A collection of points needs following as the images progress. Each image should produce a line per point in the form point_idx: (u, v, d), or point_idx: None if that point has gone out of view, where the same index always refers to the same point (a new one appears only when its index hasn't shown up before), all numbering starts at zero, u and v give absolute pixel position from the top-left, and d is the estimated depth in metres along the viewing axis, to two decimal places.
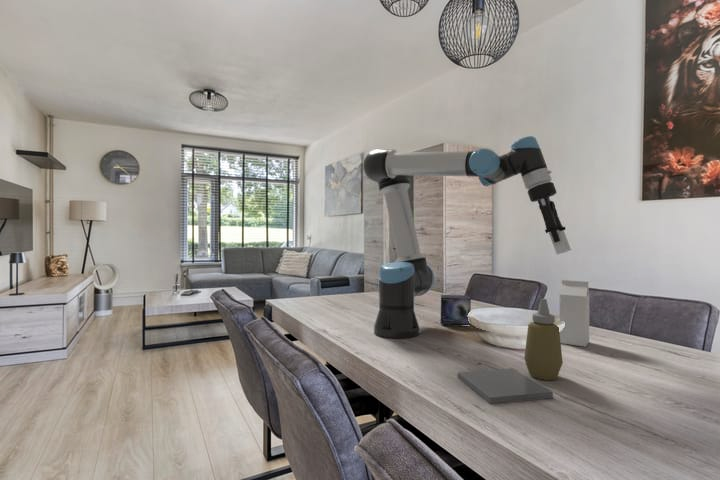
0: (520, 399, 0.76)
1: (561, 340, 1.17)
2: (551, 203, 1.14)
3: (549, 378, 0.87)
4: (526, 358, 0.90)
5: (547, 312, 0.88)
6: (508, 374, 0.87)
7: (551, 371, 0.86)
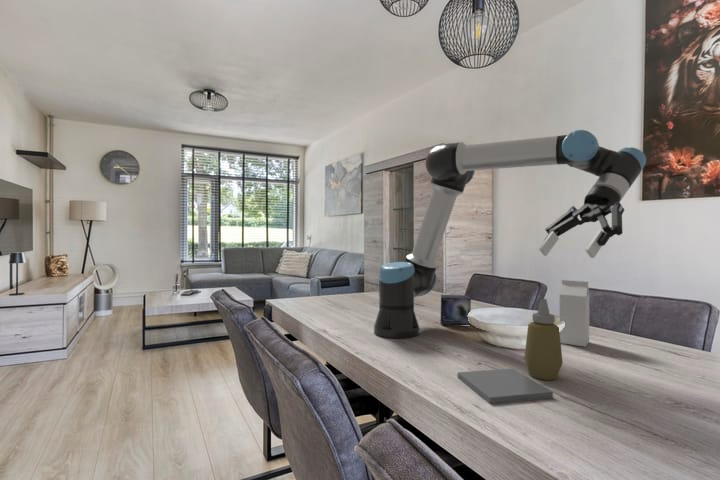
0: (520, 399, 0.76)
1: (561, 340, 1.17)
2: None
3: (549, 378, 0.87)
4: (526, 358, 0.90)
5: (547, 312, 0.88)
6: (508, 374, 0.87)
7: (551, 371, 0.86)
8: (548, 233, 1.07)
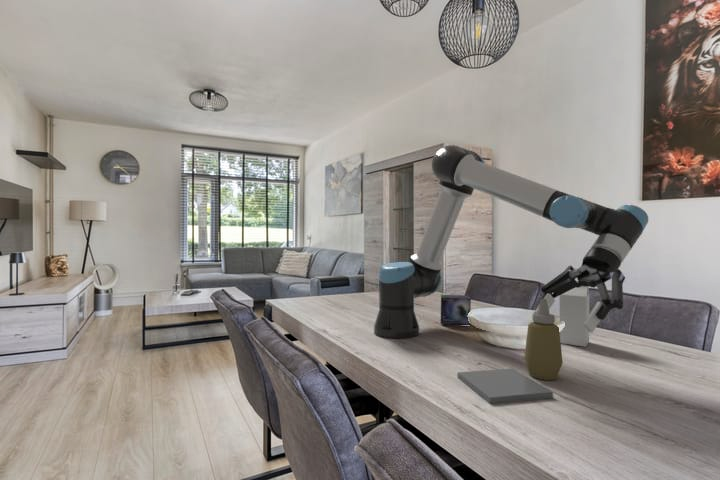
0: (520, 399, 0.76)
1: (561, 340, 1.17)
2: None
3: (549, 378, 0.87)
4: (526, 358, 0.90)
5: (547, 312, 0.88)
6: (508, 374, 0.87)
7: (551, 371, 0.86)
8: (544, 293, 1.01)
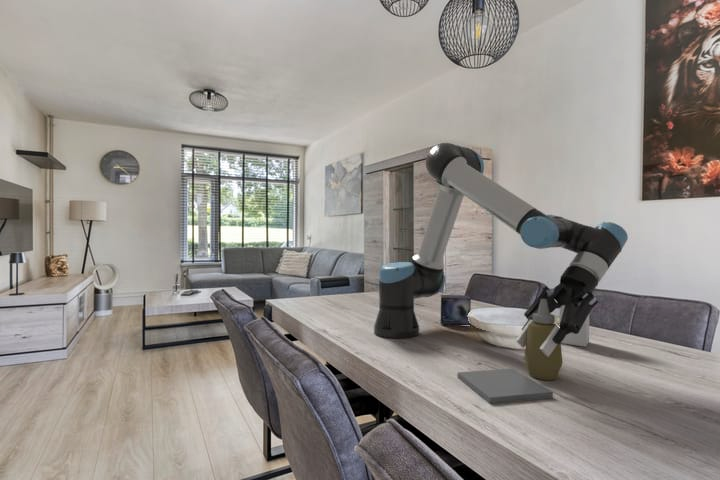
0: (520, 399, 0.76)
1: None
2: None
3: (549, 378, 0.87)
4: (526, 358, 0.90)
5: (547, 312, 0.88)
6: (508, 374, 0.87)
7: (551, 371, 0.86)
8: None
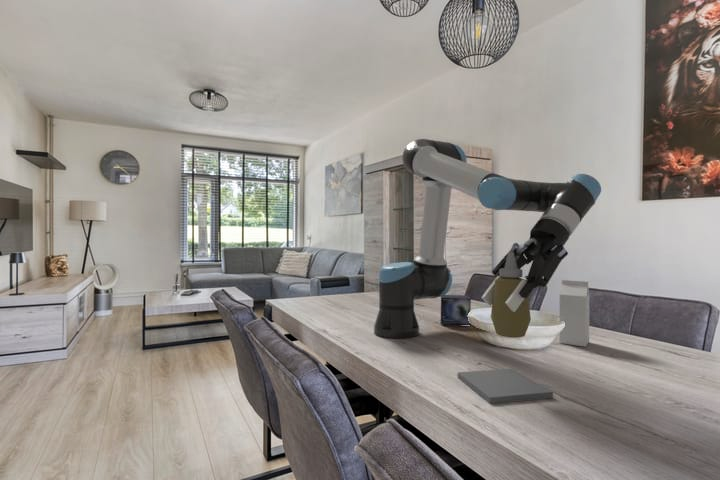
0: (520, 399, 0.76)
1: (561, 340, 1.17)
2: None
3: (516, 335, 0.81)
4: (492, 316, 0.84)
5: (514, 265, 0.82)
6: (508, 374, 0.87)
7: (518, 328, 0.80)
8: (495, 276, 0.90)
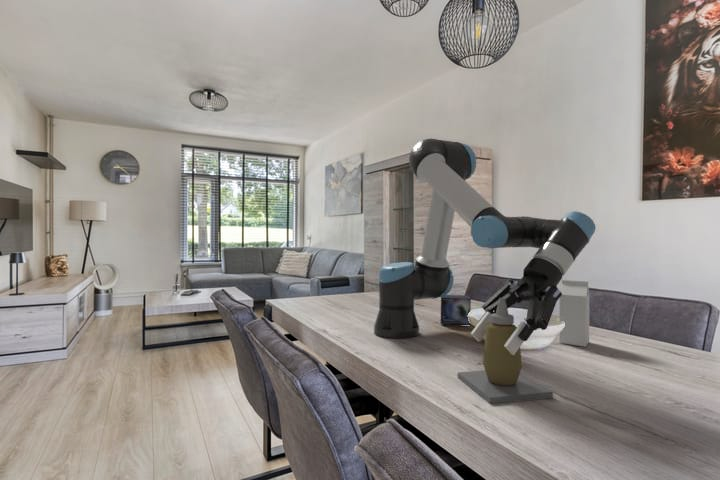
0: (520, 399, 0.76)
1: (561, 340, 1.17)
2: None
3: (507, 383, 0.80)
4: (484, 362, 0.83)
5: (505, 312, 0.82)
6: None
7: (509, 376, 0.80)
8: None
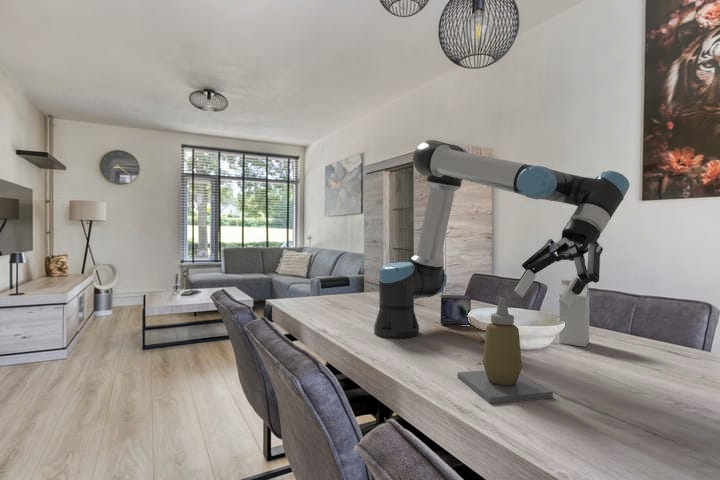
0: (520, 399, 0.76)
1: (561, 340, 1.17)
2: None
3: (507, 383, 0.80)
4: (484, 362, 0.83)
5: (505, 312, 0.82)
6: None
7: (509, 376, 0.80)
8: (525, 269, 0.99)
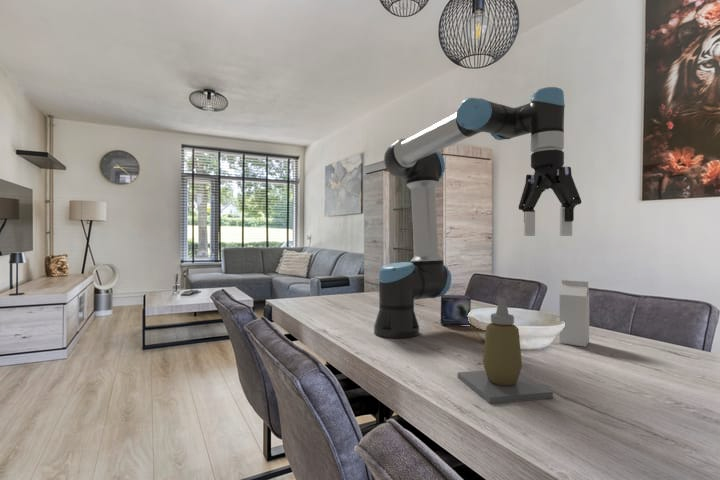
0: (520, 399, 0.76)
1: (561, 340, 1.17)
2: None
3: (507, 383, 0.80)
4: (484, 362, 0.83)
5: (505, 312, 0.82)
6: None
7: (509, 376, 0.80)
8: None
